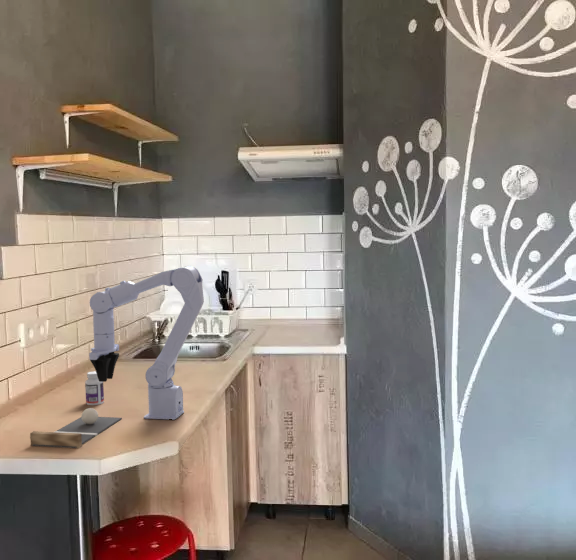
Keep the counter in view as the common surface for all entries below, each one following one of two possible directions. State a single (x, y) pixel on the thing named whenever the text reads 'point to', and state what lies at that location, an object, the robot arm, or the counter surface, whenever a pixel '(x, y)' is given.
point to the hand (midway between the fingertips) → (105, 379)
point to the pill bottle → (94, 389)
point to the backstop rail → (56, 439)
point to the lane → (86, 429)
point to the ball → (89, 416)
